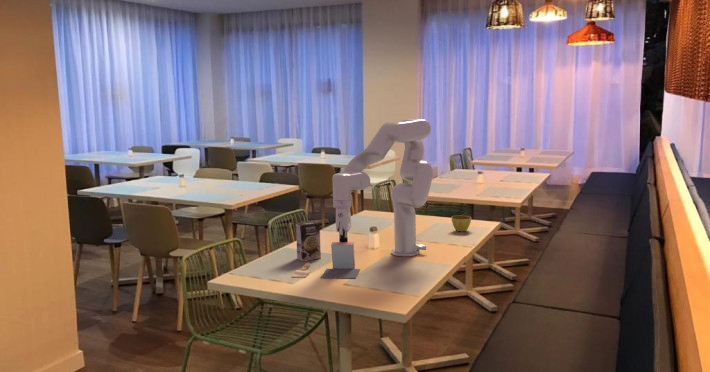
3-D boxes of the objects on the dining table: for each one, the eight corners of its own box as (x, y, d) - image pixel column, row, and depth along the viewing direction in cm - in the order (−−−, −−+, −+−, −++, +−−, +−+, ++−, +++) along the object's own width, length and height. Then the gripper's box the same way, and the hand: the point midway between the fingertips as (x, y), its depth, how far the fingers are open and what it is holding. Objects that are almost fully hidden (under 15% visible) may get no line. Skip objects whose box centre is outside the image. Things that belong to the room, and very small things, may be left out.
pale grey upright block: (355, 266, 249) (353, 242, 246) (354, 269, 247) (352, 244, 243) (333, 266, 250) (332, 242, 247) (332, 269, 248) (331, 244, 245)
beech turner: (301, 265, 255) (301, 262, 255) (315, 265, 254) (315, 262, 254) (291, 277, 238) (291, 275, 238) (306, 277, 237) (306, 275, 237)
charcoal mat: (360, 269, 246) (360, 269, 246) (355, 278, 234) (355, 277, 234) (326, 269, 248) (326, 268, 248) (320, 278, 236) (320, 277, 236)
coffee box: (302, 261, 260) (300, 225, 258) (296, 258, 266) (295, 222, 263) (321, 258, 264) (320, 222, 262) (315, 255, 270) (314, 220, 267)
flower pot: (474, 229, 309) (474, 216, 308) (466, 234, 301) (466, 220, 300) (456, 228, 315) (456, 214, 313) (448, 232, 306) (448, 218, 305)
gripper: (348, 206, 238) (349, 251, 241) (354, 200, 253) (355, 242, 255) (329, 206, 239) (331, 251, 242) (336, 200, 254) (338, 242, 257)
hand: (343, 246), depth 249 cm, fingers closed
